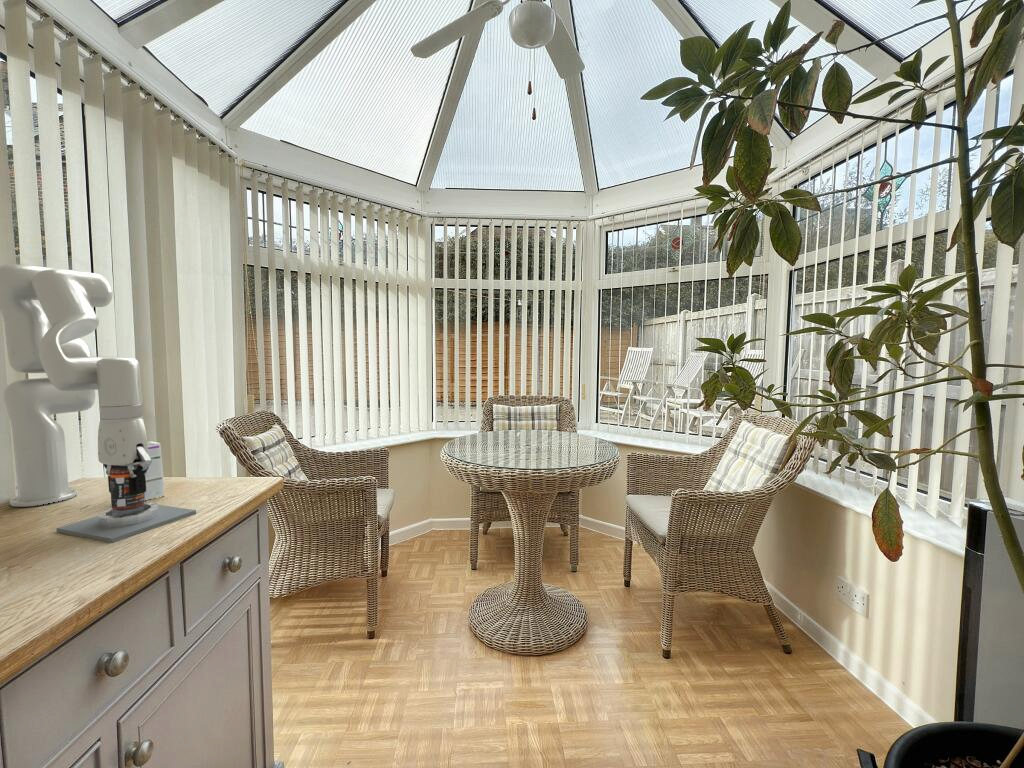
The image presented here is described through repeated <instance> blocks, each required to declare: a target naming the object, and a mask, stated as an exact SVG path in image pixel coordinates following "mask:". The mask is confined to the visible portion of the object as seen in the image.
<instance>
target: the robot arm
mask: <svg viewBox="0 0 1024 768" xmlns="http://www.w3.org/2000/svg"><path fill="white" fill-rule="evenodd" d="M112 300H113V289H112V286H111V284H110V282H109V281H108V279H107V278H105V277H104V276H103V275H101V274H99V273H95V272H88V271H87V272H86V271H80V270H75V269H66V268H65V269H64V268H58V267H57V268H56V267H47V266H39V265H33V264H32V265H30V264H22V263H21V264H19V263H17V264H15V263H13V264H12V263H10V264H2V265H0V313H1V317H2V319H3V323H4V333H5V342H6V344H5V345H6V351H7V356H8V357H7V359H8V363H9V365H10V367H11V368H12V369H13V371H15V372H18V373H22V374H46V376H47V377H40V378H25V379H20V380H15V381H13V382H11V383H9V384H8V385H6V386H5V388H4V390H3V401H4V402H3V403H4V404H5V408H6V411H7V413H8V416H9V421H10V427H11V432H12V441H13V453H14V464H15V465H14V466H15V476H16V486H15V489H16V490H17V496H15V497H13V498H11V499H9V505H10V506H11V507H15V508H18V507H19V508H25V507H35V506H36V507H37V505H38V506H43V504H44V505H48V503H50V504H54V503H53V502H55V503H59V502H62V500H63V501H66V500H69V499H72V498H74V497H75V495H76V496H77V494H78V490H77V489H75V488H71V487H69V477H68V475H69V474H68V464H67V463H68V462H67V453H66V452H67V450H66V440H65V439H66V438H65V431H64V429H63V427H62V426H61V425H60V424H59V423H58V422H57V421H56V420H54V419H53V418H52V417H51V416H52V415H58V414H66V413H67V414H68V413H76V412H77V413H78V412H83V411H88V410H90V409H91V408H92V407H93V406H94V404H95V401H96V391H97V393H98V396H97V397H98V406H99V407H98V409H99V418H100V420H99V423H98V431H97V455H98V456H97V457H98V461H99V463H101V464H103V467H104V468H105V470H106V471H105V474H106V475H107V482H108V492H109V493H110V494H111V490H110V471H111V470H112V469H113V468H114V467H115V465H116V466H127V467H128V470H129V473H130V476H131V478H128V480H129V493H130V495H132V496H133V495H137V494H141V493H144V492H146V479H145V475H146V474H147V470H148V468H149V466H150V464H151V463H152V460H151V458H150V457H149V455H148V441H149V440H148V436H147V430H146V425H145V422H144V421H145V420H144V407H143V406H144V405H143V393H142V379H141V365H140V362H139V361H138V359H137V358H134V357H122V356H121V357H120V356H92V352H91V349H90V347H89V346H88V343H87V342H86V341H84V340H83V339H82V338H83V337H86V336H88V335H90V334H92V333H93V332H94V331H96V330H97V329H98V327H99V325H100V324H99V323H100V321H99V318H98V316H97V314H96V312H95V310H94V309H93V307H94V308H104V307H107V306H108V305H109V304H110V303H111V302H112ZM35 301H38V302H39V304H40V305H39V304H37V303H36V302H35ZM134 460H137V462H135V463H133V461H134ZM137 465H138V467H137V468H136V470H135V469H134V466H137ZM58 501H59V502H58Z"/></svg>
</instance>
